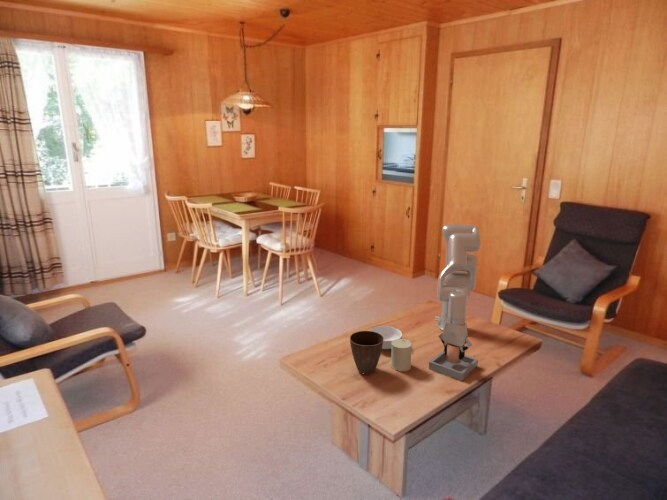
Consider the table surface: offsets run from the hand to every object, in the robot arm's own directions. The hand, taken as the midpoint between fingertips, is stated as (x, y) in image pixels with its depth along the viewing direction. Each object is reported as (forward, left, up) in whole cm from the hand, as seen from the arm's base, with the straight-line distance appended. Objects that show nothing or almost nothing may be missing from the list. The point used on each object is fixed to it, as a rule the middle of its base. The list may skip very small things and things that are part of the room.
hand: (454, 355), depth 203 cm
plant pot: (-29, -27, -6) cm, 40 cm away
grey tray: (0, 0, -6) cm, 6 cm away
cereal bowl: (-36, -2, -6) cm, 37 cm away
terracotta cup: (0, 0, -2) cm, 2 cm away
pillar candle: (-19, -14, -6) cm, 24 cm away
